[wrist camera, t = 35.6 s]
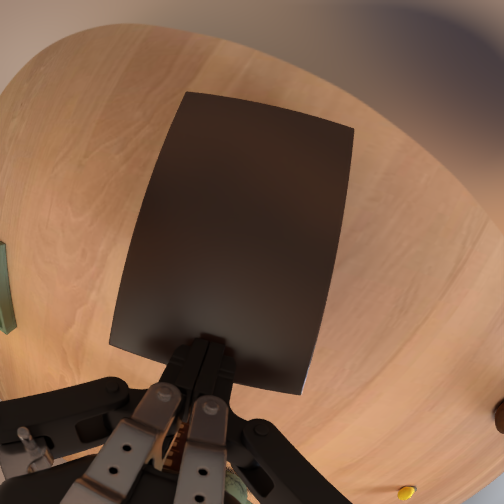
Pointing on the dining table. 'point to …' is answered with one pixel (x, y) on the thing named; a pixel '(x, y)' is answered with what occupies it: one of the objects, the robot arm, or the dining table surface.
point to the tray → (5, 296)
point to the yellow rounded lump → (406, 492)
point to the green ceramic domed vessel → (236, 487)
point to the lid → (237, 239)
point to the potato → (500, 418)
